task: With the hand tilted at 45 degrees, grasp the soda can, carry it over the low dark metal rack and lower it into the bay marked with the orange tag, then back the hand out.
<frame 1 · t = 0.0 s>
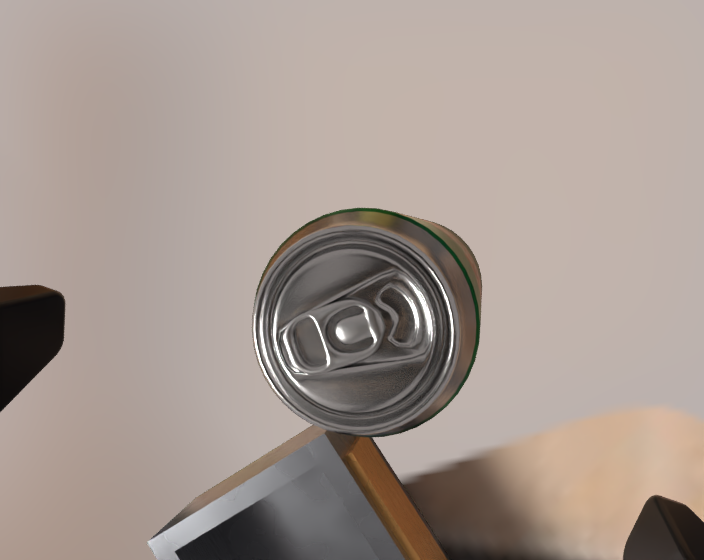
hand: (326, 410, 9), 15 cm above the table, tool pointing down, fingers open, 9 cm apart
soda can: (416, 284, 24), on the table
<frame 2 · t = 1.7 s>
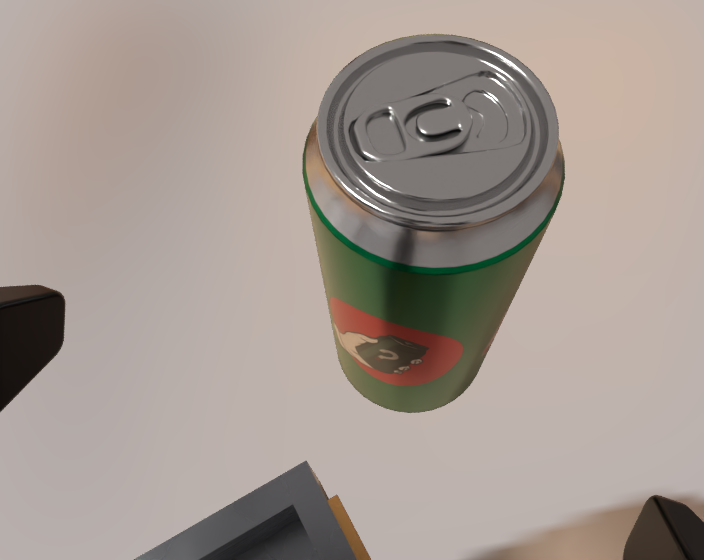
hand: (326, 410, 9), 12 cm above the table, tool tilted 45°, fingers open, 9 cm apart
soda can: (408, 347, 22), on the table
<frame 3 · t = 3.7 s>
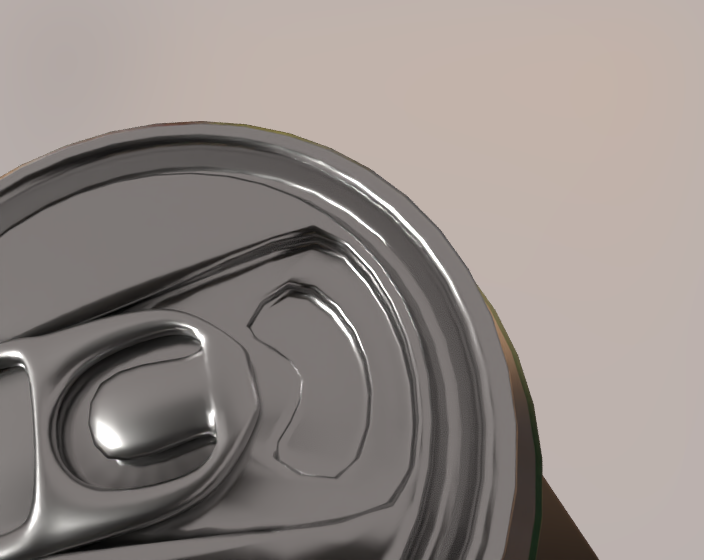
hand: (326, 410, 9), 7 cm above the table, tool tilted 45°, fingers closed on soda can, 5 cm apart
soda can: (324, 532, 15), on the table, touching gripper
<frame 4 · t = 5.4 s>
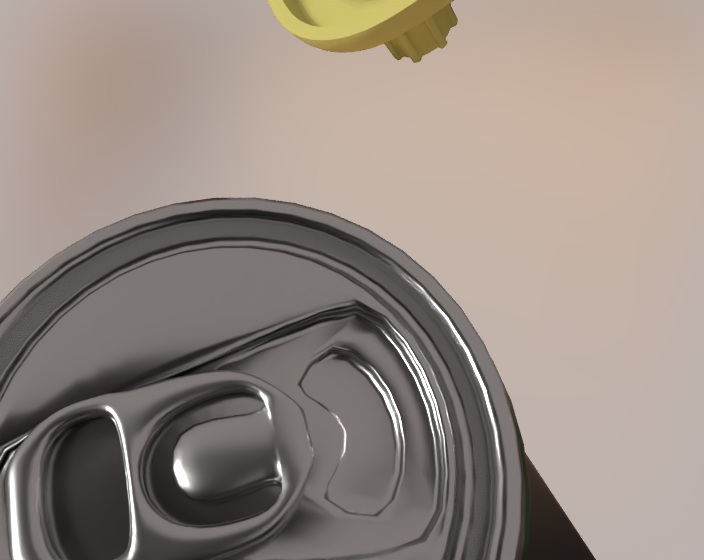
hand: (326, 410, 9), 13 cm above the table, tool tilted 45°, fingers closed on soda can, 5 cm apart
soda can: (296, 518, 16), point 5 cm above the table, touching gripper
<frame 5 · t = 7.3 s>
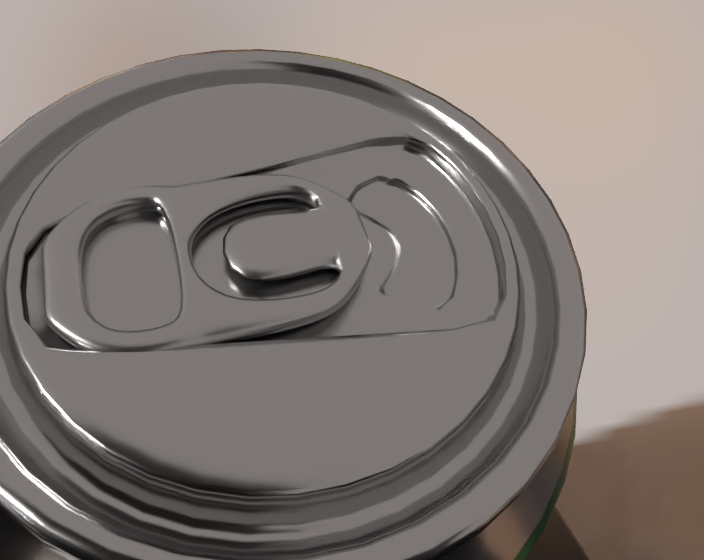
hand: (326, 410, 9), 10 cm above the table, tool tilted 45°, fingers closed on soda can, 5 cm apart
when the fingers open (10 cm above the table, at t = 7.8 s): soda can drops 2 cm, resting on rack.
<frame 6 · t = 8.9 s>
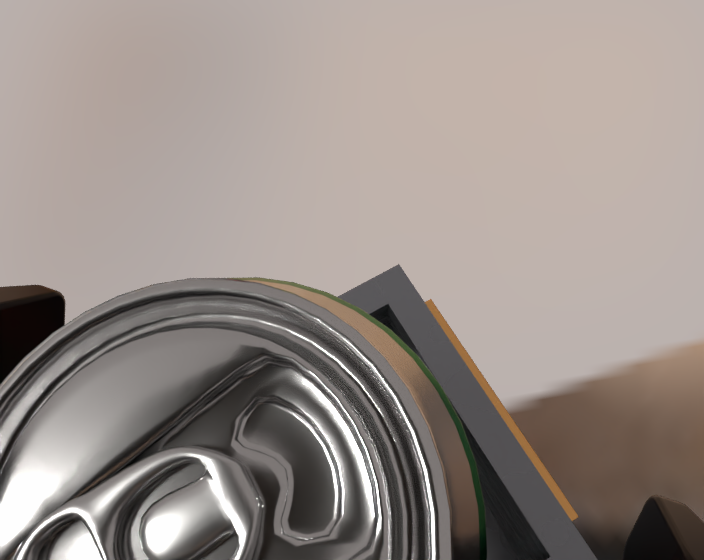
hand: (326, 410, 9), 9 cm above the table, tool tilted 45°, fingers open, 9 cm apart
soda can: (343, 508, 16), point 1 cm above the table, touching rack
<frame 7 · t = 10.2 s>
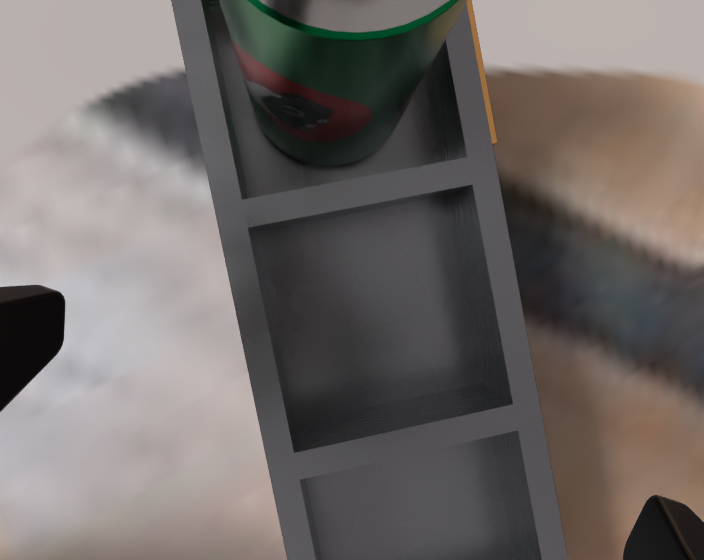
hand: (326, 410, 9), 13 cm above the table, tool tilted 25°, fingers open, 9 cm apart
rack: (367, 307, 22), on the table
soda can: (327, 95, 21), point 1 cm above the table, touching rack
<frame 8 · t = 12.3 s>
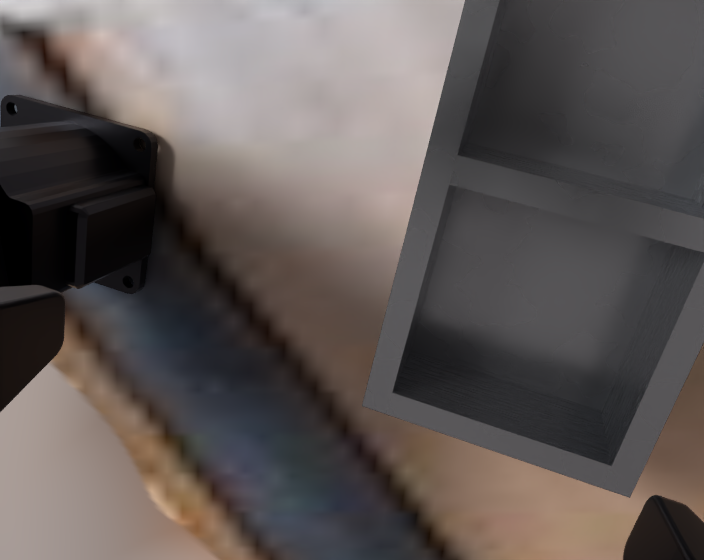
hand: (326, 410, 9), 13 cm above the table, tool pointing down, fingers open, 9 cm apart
rack: (612, 55, 18), on the table
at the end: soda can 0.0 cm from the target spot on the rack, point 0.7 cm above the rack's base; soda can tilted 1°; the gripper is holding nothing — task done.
